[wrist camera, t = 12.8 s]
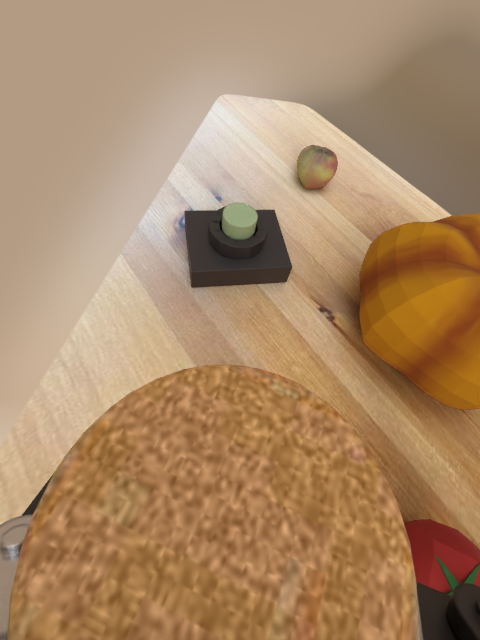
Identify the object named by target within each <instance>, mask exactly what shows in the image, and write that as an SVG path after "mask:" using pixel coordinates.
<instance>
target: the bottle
mask: <svg viewBox="0 0 480 640" xmlns="http://www.w3.org/2000/svg"><path fill="white" fill-rule="evenodd" d="M7 640H417V585H416V577H415V571H414V565H413V559H412V553H411V547H410V541H409V538H408V535H407V532H406V529H405V526H404V522H403V519H402V516H401V513H400V510H399V507H398V504H397V501H396V499H395V496H394V494H393V492H392V490H391V488H390V486H389V483H388V481H387V479H386V477H385V475H384V472H383V470H382V468H381V467H380V465H379V464H378V462H377V460H376V459H375V457H374V456H373V454H372V453H371V451H370V449H369V448H368V446H367V445H366V443H365V442H364V440H363V439H362V438H361V437H360V435H359V434H358V433H357V432H356V431H355V429H354V428H353V427H352V426H351V425H350V423H349V422H348V421H346V420H345V419H344V418H343V417H342V416H341V415H340V414H339V413H338V412H337V411H336V410H335V409H334V408H333V407H332V406H331V405H330V404H328V403H327V402H326V401H324V400H323V399H321V398H320V397H319V396H317V395H316V394H314V393H313V392H311V391H310V390H309V389H307V388H305V387H304V386H302V385H300V384H298V383H296V382H294V381H292V380H290V379H287V378H285V377H282V376H280V375H277V374H274V373H271V372H268V371H264V370H261V369H258V368H252V367H245V366H237V365H209V366H201V367H196V368H190V369H185V370H181V371H178V372H176V373H173V374H170V375H167V376H164V377H161V378H158V379H156V380H154V381H152V382H150V383H148V384H146V385H145V386H143V387H141V388H139V389H137V390H135V391H133V392H131V393H130V394H128V395H127V396H126V397H124V398H123V399H121V400H120V401H119V402H117V403H116V404H115V405H113V406H112V407H111V408H110V409H109V410H107V411H106V412H105V413H104V414H103V415H102V416H101V417H100V418H99V419H98V420H97V421H96V422H95V423H94V424H93V425H92V426H91V427H89V428H88V429H87V430H86V431H85V432H84V433H83V435H82V436H81V437H80V438H79V440H78V441H77V442H76V443H75V445H74V446H73V447H72V448H71V450H70V451H69V452H68V453H67V455H66V456H65V458H64V459H63V461H62V462H61V463H60V465H59V466H58V468H57V469H56V471H55V472H54V474H53V476H52V478H51V480H50V482H49V484H48V486H47V488H46V490H45V492H44V494H43V496H42V498H41V500H40V502H39V504H38V506H37V508H36V510H35V512H34V514H33V516H32V519H31V521H30V524H29V527H28V530H27V533H26V535H25V538H24V541H23V544H22V547H21V552H20V556H19V560H18V565H17V569H16V573H15V578H14V582H13V586H12V591H11V595H10V606H9V621H8V635H7Z"/></svg>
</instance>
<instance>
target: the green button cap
mask: <svg viewBox="0 0 480 640" xmlns="http://www.w3.org/2000/svg"><path fill="white" fill-rule="evenodd" d="M257 219H258V215H257V212H256V211H255V210H254V208H252V207H251V206H249V205H247V204H244V203H232V204H229V205H228V206H226V207H225V209H224V210H223V217H222V230H223V232H224V234H225V235H227V236H228V237H230V238H232V239H235V240H246V239H248V238H250V237H251V236H252V235H253V234H254V232H255V228H256V223H257Z"/></svg>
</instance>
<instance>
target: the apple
mask: <svg viewBox="0 0 480 640" xmlns="http://www.w3.org/2000/svg"><path fill="white" fill-rule="evenodd" d="M337 165H338V161H337V157H336V155H335V154H334V153H333V152H332V151H331V150H329V149H327V148H325V147H320V146H315V145H310V146H308V147H306V148H304V149H303V150H302V152H301V153H300V155H299V157H298V160H297V170H298V176H299V179H300V181H301V183H302V184H303V186H304V187H305V188H307V189H320V188H323V187H324V186H326V185H327V183H328V182H329V181H330V180H331V179H332V178H333V176H334V175H335V173H336V170H337Z"/></svg>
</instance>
